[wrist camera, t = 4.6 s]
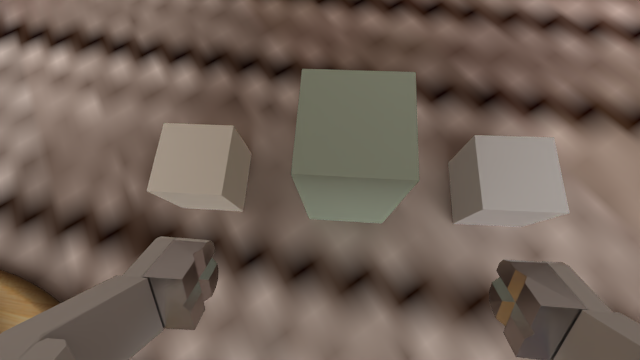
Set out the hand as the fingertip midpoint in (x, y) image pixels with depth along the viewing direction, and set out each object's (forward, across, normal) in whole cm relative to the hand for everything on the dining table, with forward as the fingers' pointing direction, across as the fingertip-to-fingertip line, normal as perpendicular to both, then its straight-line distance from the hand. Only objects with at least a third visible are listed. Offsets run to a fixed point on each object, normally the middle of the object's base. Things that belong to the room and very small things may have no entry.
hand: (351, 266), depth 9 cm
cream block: (+11, +8, +3) cm, 14 cm away
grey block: (+10, -9, +3) cm, 14 cm away
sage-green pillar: (+10, 0, +3) cm, 11 cm away
